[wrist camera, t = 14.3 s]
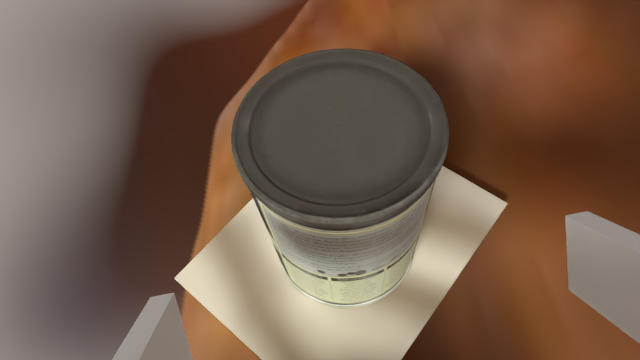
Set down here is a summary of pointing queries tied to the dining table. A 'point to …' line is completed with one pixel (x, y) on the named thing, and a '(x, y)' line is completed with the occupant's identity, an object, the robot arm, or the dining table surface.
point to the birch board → (329, 322)
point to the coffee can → (342, 169)
